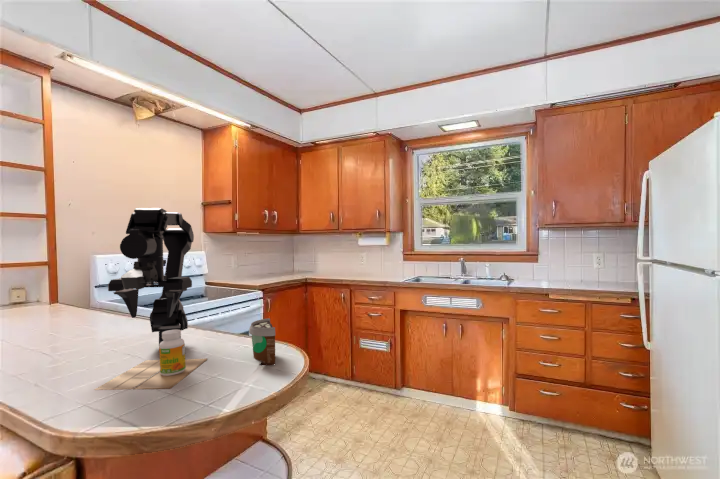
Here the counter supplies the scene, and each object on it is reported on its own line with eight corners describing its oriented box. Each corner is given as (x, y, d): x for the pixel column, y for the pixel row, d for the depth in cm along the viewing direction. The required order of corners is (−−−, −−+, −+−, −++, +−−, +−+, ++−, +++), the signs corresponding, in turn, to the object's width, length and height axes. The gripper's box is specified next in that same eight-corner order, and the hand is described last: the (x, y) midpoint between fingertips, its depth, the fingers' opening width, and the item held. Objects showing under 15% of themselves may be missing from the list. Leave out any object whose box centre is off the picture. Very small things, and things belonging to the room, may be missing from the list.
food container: (248, 355, 100) (247, 319, 100) (270, 352, 102) (269, 317, 102) (250, 370, 88) (250, 330, 88) (276, 366, 90) (275, 327, 90)
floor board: (145, 364, 93) (145, 360, 93) (176, 364, 93) (175, 359, 93) (94, 395, 75) (94, 389, 75) (131, 394, 75) (131, 388, 75)
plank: (177, 364, 93) (177, 359, 93) (207, 363, 93) (207, 358, 93) (133, 394, 75) (132, 388, 75) (170, 393, 75) (170, 387, 75)
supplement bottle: (157, 378, 81) (155, 335, 81) (163, 369, 86) (161, 330, 86) (183, 374, 82) (181, 332, 82) (187, 366, 88) (185, 327, 88)
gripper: (90, 259, 83) (91, 325, 83) (169, 258, 83) (170, 324, 83) (122, 256, 94) (123, 315, 94) (192, 255, 94) (193, 314, 94)
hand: (151, 317), depth 91 cm, fingers open, 9 cm apart
